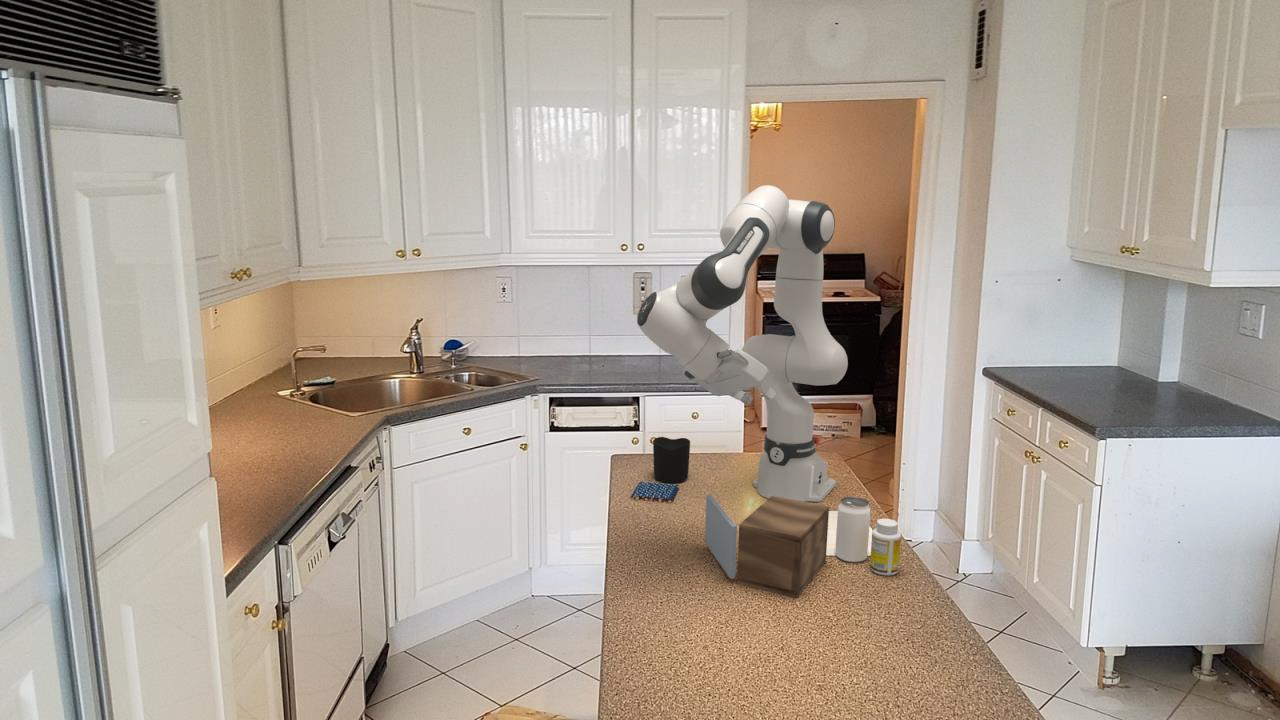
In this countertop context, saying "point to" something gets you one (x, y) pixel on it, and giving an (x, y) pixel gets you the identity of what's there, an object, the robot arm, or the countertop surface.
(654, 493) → the woven mat
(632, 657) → the countertop surface
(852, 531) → the can
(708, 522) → the flap
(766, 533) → the crate
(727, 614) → the countertop surface
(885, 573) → the supplement bottle
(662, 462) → the pen holder
